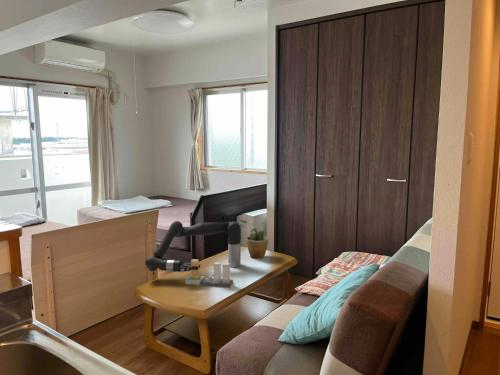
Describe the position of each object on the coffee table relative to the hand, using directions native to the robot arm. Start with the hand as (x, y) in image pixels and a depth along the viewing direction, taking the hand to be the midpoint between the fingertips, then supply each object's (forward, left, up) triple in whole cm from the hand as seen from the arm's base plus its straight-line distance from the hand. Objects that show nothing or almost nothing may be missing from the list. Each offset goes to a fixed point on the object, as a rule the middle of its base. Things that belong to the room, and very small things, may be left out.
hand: (198, 267), depth 248 cm
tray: (0, -3, -10) cm, 11 cm away
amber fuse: (0, -3, -7) cm, 8 cm away
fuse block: (0, +13, -10) cm, 16 cm away
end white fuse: (0, +19, -8) cm, 20 cm away
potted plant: (-62, +28, -11) cm, 69 cm away
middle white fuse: (0, +13, -8) cm, 15 cm away
